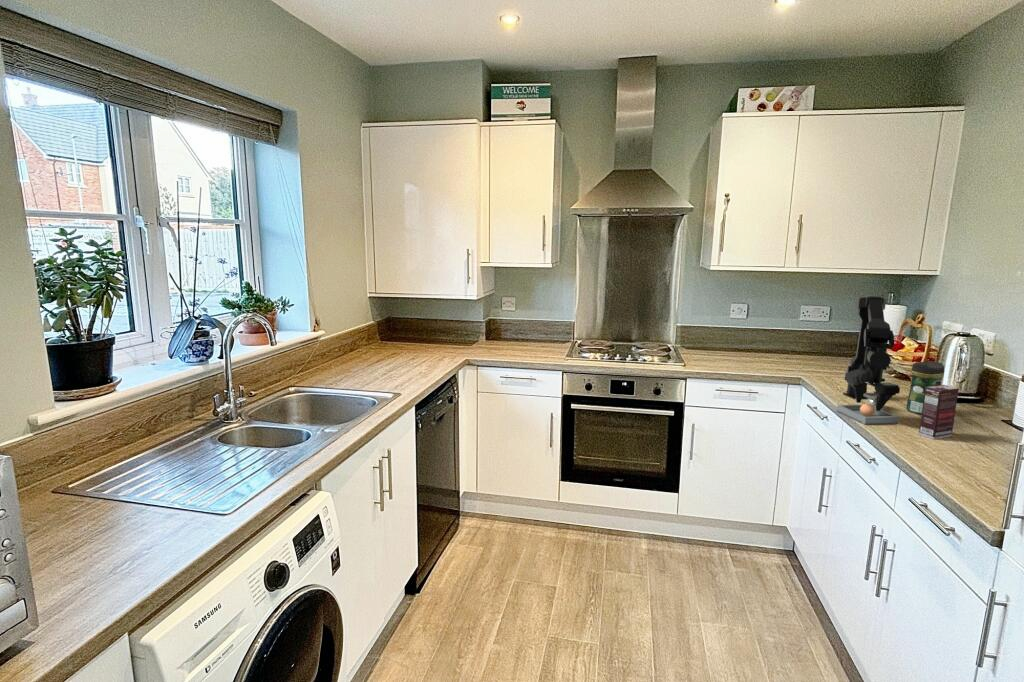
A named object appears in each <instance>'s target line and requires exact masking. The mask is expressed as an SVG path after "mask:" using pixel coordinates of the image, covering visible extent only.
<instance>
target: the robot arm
mask: <svg viewBox="0 0 1024 682" xmlns="http://www.w3.org/2000/svg"><path fill="white" fill-rule="evenodd" d="M886 302H887V300H886V298H884V297H882V296H877V295H876V296H875V295H869V296H861V297H858V299H857V301H856V309H857V313H858V315H859V318H860V320H861V321H860V326H859V332H858V339H857V346H856V353H855V356H853V357H852V359H850V361H849V365H847V367H846V371H845V375H844V380H845V381H846V383H847V389H846V392H842V395H845V396H847V397H850V398H852V399H855V400H856V403H857V404H859V403H860V404H861V402H862V400H863V399H867V397H865V396H863V395H864V393H868V392H867V391H868V385H869V386H871V387H874V390H875V391H873V393H875V395H876V396H877V398H876V411H880V410H881V409H882V407H883V406H885V405H886V404H887V403H888V401H890V400H891V398H893V396H897V395H898V394H900V390H901V387H900V385H898V384H896V383H892V382H886V378H884V377H883V375H884V371H887V370H888V369H887V368H888V366H889V365H890V364H891V363H892V362H891V361H892V360H891V356H890V355H889V354H888V352H887V350H893V347H894V346H895V334H894V332H893V330H891V326H890V324H889V323H888V322H887V321H885V314H884V310H885V309H886ZM889 399H890V400H889ZM883 408H884V407H883Z"/></svg>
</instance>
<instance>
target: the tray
mask: <svg viewBox="0 0 1024 682" xmlns="http://www.w3.org/2000/svg"><path fill="white" fill-rule="evenodd" d="M862 405H863V404H837V406H836V412H837V413H838V414H841V415H843V416H845V417H847V418H849V419H852V420H854V421H855V422H857V423H860V424H862V425H864V426H874V425H876V426H877V425H879V426H880V425H881V426H882V425H883V426H885V425H899V424H900V423H899V422H900V416H897V415H896V414H893V413H890V412H887V411H886V410H884V409H883V410H880V411H876V407H874V408H875V413H874V414H873V415H872V416H864V415H863V414H862V413H861V412H860V407H861V406H862Z"/></svg>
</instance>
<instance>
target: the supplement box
mask: <svg viewBox="0 0 1024 682" xmlns="http://www.w3.org/2000/svg"><path fill="white" fill-rule="evenodd" d="M958 395H959V387H956V386H952V385H947V384H941V385H938V386H930V387H926V388H925V395H924V402H923V409H922V414H921V415H920V416H921V417H920V423H919V431H918V435H919V436H921V435H922V437H923V438H924V437H925V438H928V439H931V440H937V439H944V438H949V437H950V438H951V437H952V435H953V429H954V422H955V415H956V409H957V403H958Z"/></svg>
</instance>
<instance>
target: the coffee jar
mask: <svg viewBox="0 0 1024 682" xmlns="http://www.w3.org/2000/svg"><path fill="white" fill-rule="evenodd" d="M944 375H945V365H944V364H943V362H938V361H933V360H929V361H920V362H919V361H917V362H914V363H913V364H912V367H911V382H910V388H909V392H908V397H907V401H906V406H905V409H906V411H909V412H910V413H912V414H919V415H922V409H923V402H924V395H925V388H926V387H930V386H938V385H942V381H943V378H944Z"/></svg>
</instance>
